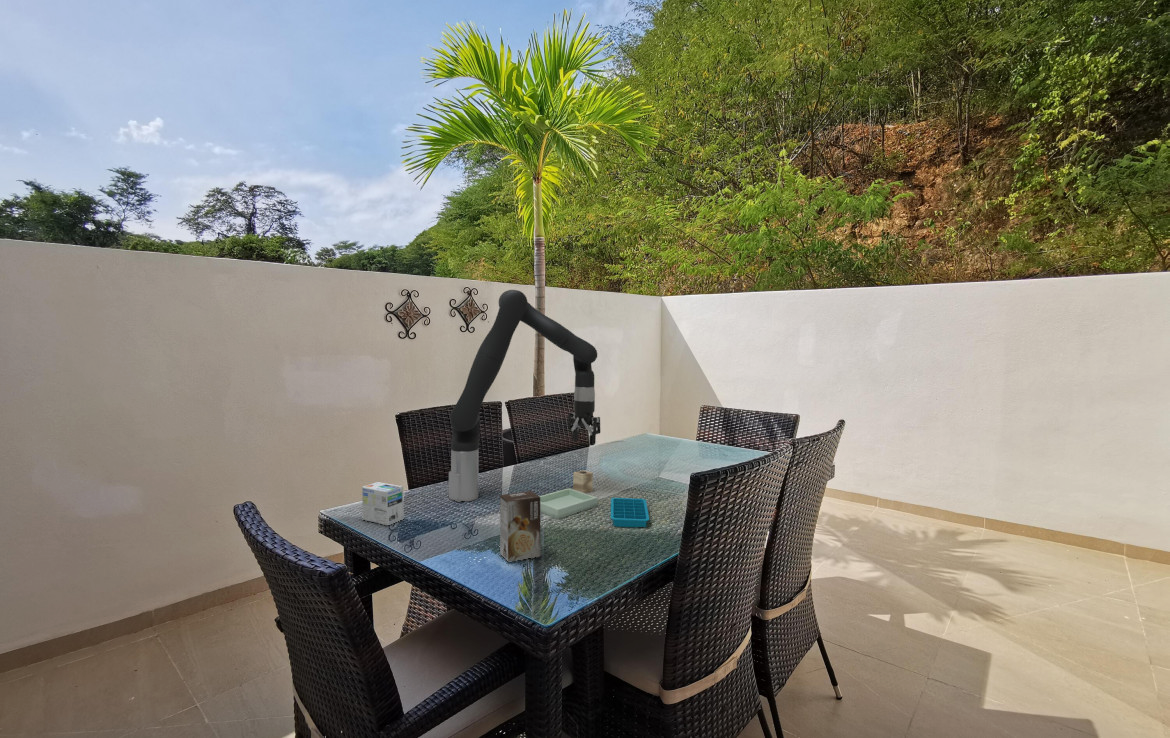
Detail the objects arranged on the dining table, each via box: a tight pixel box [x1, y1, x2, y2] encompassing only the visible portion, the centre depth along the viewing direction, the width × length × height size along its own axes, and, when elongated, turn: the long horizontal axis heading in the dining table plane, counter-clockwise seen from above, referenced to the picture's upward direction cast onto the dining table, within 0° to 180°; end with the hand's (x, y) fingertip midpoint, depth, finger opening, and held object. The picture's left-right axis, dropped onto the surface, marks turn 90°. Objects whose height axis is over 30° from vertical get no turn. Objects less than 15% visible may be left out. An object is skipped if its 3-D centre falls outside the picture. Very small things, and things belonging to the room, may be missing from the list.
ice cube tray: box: [610, 497, 650, 528], centre depth 168 cm, size 12×20×3 cm, turn 177°
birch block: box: [572, 469, 594, 494], centre depth 193 cm, size 5×5×7 cm
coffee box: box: [499, 490, 542, 562], centre depth 137 cm, size 9×6×16 cm
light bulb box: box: [361, 481, 405, 526], centre depth 160 cm, size 11×7×11 cm, turn 65°
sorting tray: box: [538, 487, 599, 520], centre depth 176 cm, size 18×14×3 cm
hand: (583, 443), depth 192 cm, fingers open, 8 cm apart
